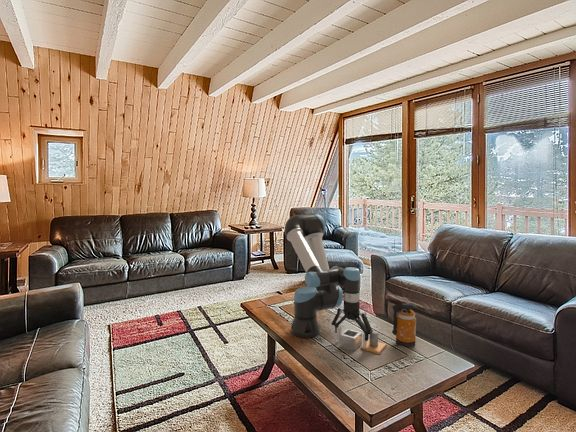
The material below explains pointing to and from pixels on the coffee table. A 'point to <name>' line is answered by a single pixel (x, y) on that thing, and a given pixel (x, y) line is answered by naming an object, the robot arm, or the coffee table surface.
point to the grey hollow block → (350, 339)
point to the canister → (404, 324)
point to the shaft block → (374, 344)
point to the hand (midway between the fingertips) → (351, 343)
